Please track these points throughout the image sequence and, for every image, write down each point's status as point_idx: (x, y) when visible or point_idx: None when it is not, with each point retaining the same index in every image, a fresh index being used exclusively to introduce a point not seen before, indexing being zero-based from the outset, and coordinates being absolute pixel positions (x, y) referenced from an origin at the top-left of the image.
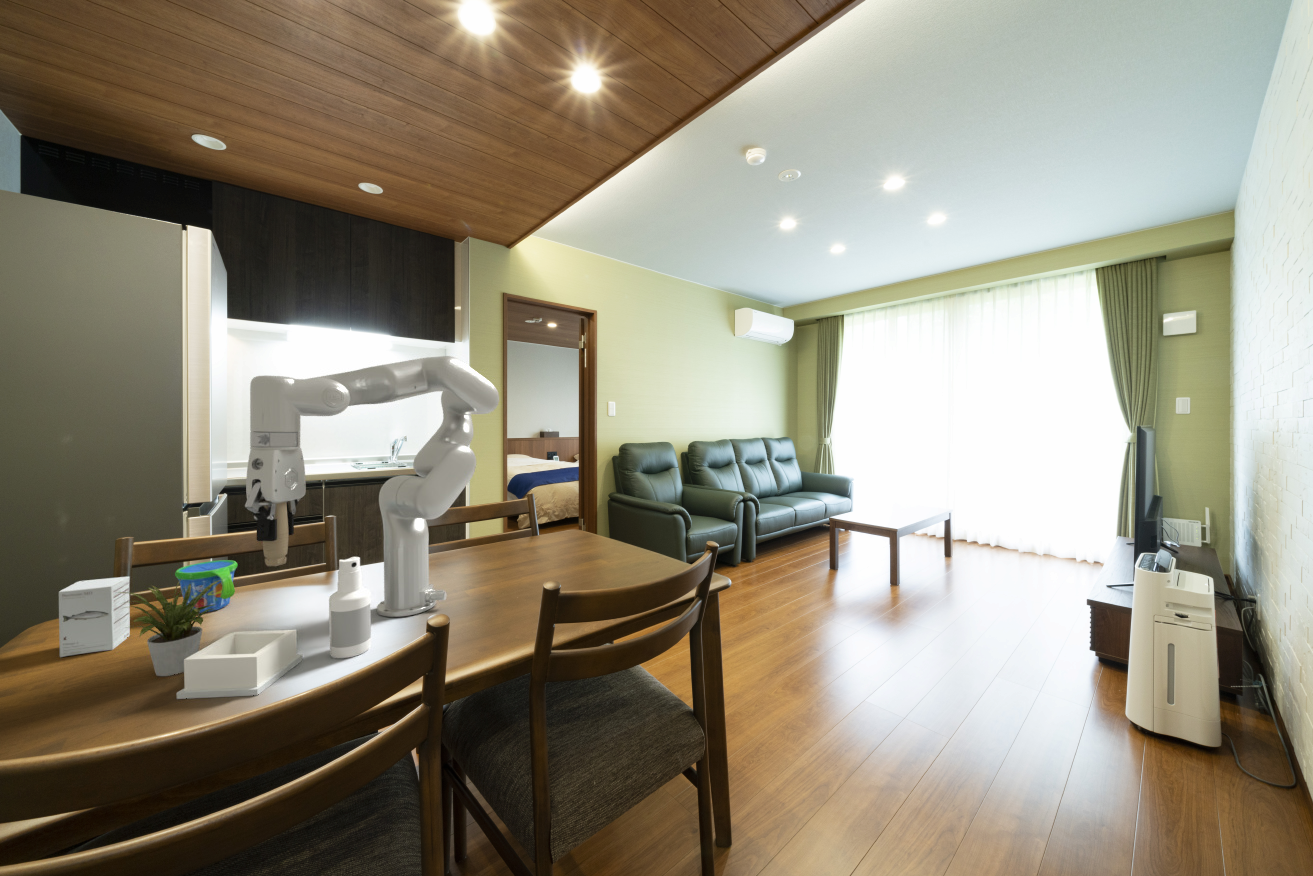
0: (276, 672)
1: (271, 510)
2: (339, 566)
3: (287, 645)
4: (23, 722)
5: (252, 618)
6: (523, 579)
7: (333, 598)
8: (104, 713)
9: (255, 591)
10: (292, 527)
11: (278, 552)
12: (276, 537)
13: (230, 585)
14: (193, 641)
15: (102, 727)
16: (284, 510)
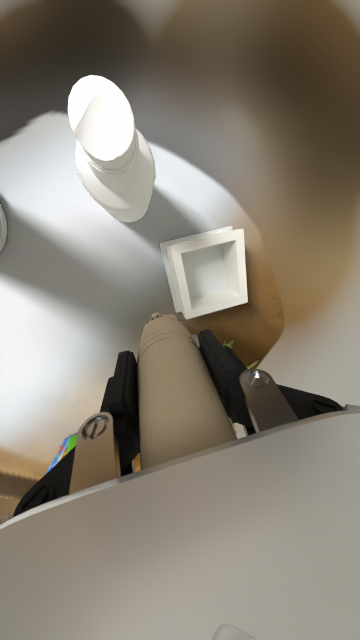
0: (200, 236)
1: (280, 402)
2: (129, 155)
3: (186, 241)
4: (259, 358)
5: (85, 387)
6: None
7: (150, 183)
8: (252, 324)
9: (22, 452)
10: (123, 364)
11: (178, 321)
12: (203, 333)
13: (71, 447)
14: (198, 343)
15: (268, 306)
16: (184, 409)
